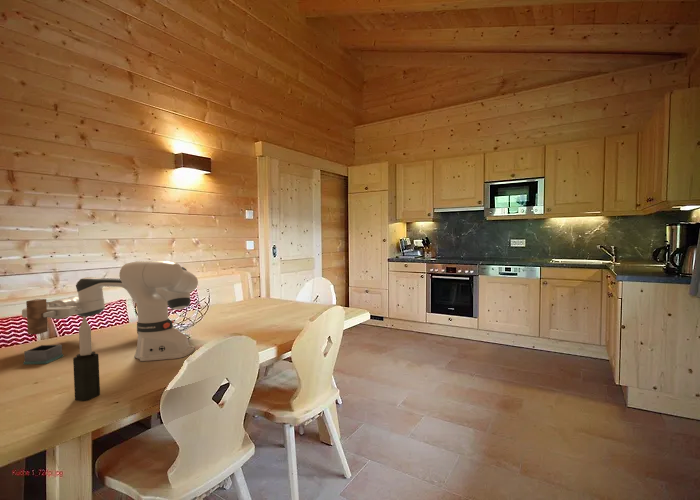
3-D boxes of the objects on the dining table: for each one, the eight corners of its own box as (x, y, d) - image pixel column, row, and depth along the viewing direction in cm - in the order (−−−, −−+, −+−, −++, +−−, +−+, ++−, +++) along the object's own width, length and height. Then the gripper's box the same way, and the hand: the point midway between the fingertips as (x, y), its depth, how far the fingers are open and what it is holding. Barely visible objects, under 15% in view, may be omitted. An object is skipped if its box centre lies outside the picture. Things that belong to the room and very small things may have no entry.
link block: (47, 331, 153) (46, 299, 152) (38, 334, 148) (37, 300, 148) (36, 331, 152) (35, 299, 152) (27, 334, 148) (26, 301, 147)
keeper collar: (63, 356, 147) (62, 344, 146) (46, 363, 138) (45, 351, 138) (42, 356, 146) (41, 344, 146) (23, 364, 138) (23, 351, 137)
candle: (86, 401, 106) (83, 318, 105) (72, 400, 107) (69, 318, 106) (101, 393, 111) (98, 314, 110) (88, 392, 112) (85, 314, 111)
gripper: (84, 315, 163) (61, 322, 150) (38, 316, 163) (10, 323, 149) (83, 301, 163) (60, 307, 149) (37, 302, 162) (10, 308, 149)
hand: (35, 315), depth 149 cm, fingers closed on link block, 4 cm apart
